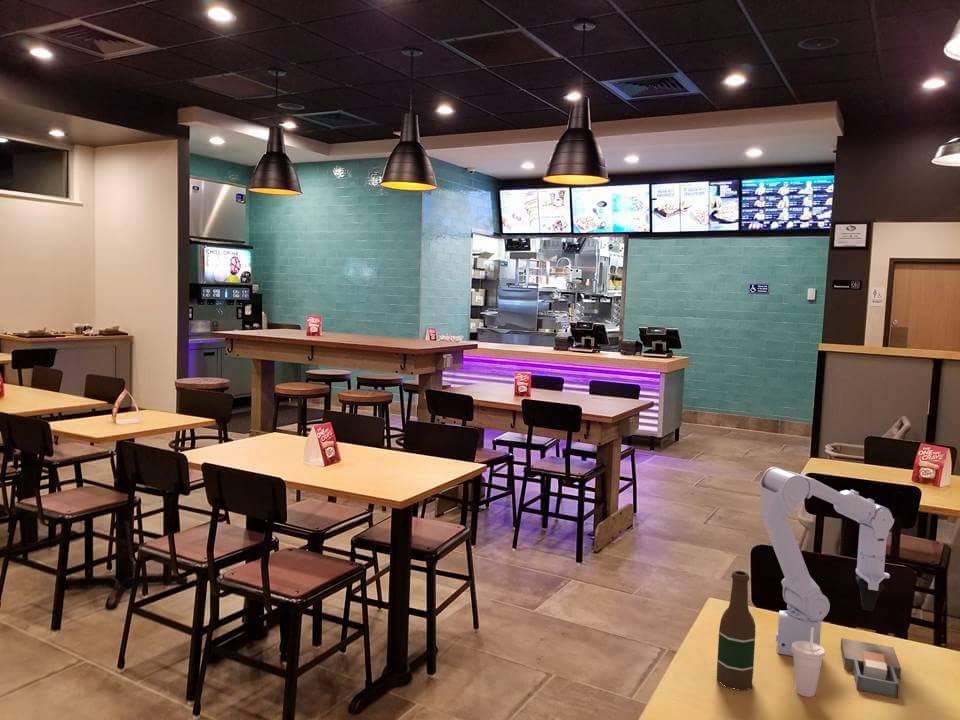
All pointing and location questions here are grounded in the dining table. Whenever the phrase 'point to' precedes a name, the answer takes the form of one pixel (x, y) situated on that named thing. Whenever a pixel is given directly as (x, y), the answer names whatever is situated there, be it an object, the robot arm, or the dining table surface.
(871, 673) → the cream tile
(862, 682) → the tray
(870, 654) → the terracotta tile
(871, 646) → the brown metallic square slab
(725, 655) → the beer bottle
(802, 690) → the smoothie
